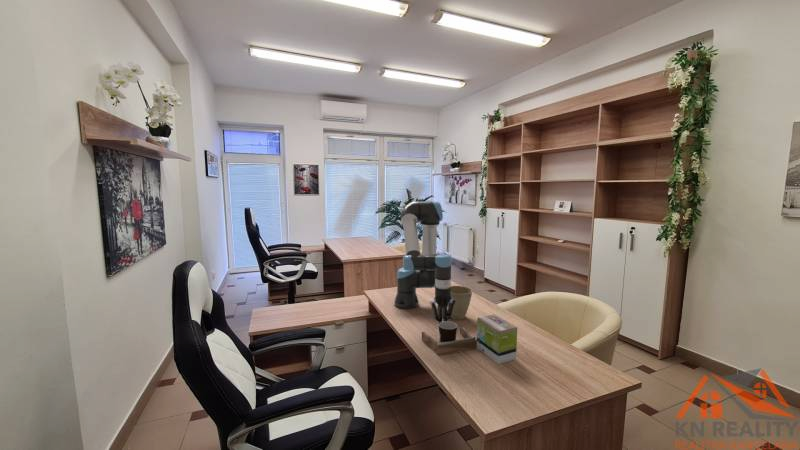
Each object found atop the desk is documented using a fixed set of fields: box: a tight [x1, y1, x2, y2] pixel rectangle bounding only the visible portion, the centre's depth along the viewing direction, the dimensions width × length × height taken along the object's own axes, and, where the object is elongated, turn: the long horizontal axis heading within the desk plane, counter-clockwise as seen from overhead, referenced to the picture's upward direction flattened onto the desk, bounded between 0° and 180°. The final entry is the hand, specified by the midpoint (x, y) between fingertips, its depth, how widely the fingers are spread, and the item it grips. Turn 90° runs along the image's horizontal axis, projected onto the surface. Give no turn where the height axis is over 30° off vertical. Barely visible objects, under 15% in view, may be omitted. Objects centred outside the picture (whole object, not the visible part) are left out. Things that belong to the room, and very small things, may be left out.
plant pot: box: [448, 285, 473, 320], centre depth 178 cm, size 15×15×16 cm
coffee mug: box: [437, 320, 458, 343], centre depth 146 cm, size 12×9×10 cm
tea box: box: [476, 314, 518, 365], centre depth 138 cm, size 15×10×15 cm
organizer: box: [421, 325, 478, 356], centre depth 147 cm, size 16×22×5 cm
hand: (442, 333), depth 155 cm, fingers closed
